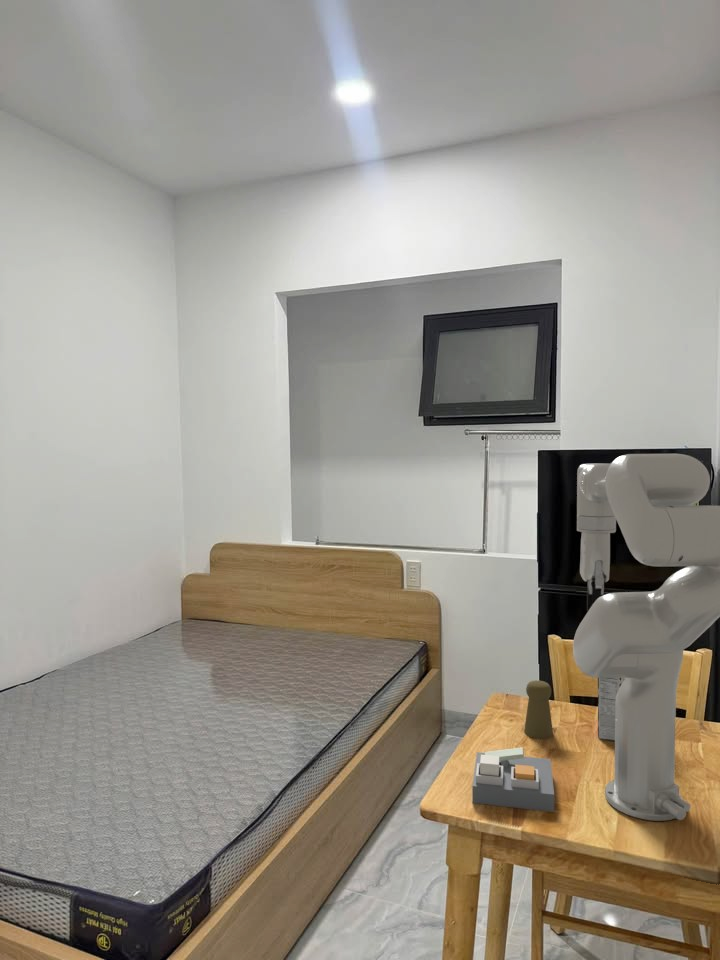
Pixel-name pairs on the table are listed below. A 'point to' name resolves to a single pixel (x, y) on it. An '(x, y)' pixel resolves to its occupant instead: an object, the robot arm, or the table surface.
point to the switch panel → (515, 785)
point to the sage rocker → (507, 754)
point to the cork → (538, 711)
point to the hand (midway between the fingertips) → (595, 612)
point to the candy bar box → (607, 706)
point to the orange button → (524, 772)
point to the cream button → (489, 765)
